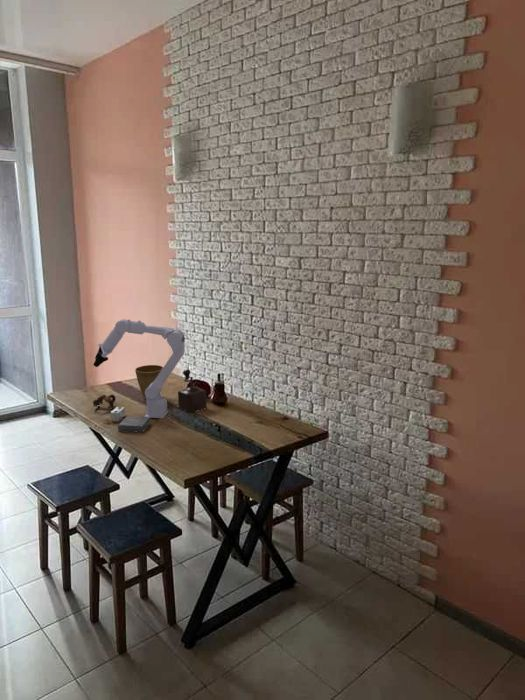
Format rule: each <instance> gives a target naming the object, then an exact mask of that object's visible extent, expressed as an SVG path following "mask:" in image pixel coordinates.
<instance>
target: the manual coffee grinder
mask: <svg viewBox="0 0 525 700" xmlns="http://www.w3.org/2000/svg"><path fill="white" fill-rule="evenodd" d="M182 374H183V376H184V379H183V382H184V383H186V382H187V383H190V386H188V387H187V388H184V389H181V390H178V391H177V398H178V409H179V410H181V409H182V410H181V411H184V410H185V411H184V412H187V411H188V412H187V413H190V412H191V414H192V412H193V413H196V412H195V411H197V410H200V411H202V410H201V409H203V410H205V409H204V408H206V409H208V406H207V405H208V404H207V390H206V389H203V388H201V387H199V386H198V384H196V386H195V385H194V383H193V382H194V378H193V376H190V375H191V370H190V369H184V370H183V371H182ZM197 412H198V411H197Z"/></svg>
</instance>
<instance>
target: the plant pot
mask: <svg viewBox="0 0 525 700" xmlns="http://www.w3.org/2000/svg"><path fill="white" fill-rule="evenodd" d="M163 367H164V366H163V365H160V364H159V365H158V364H147V365H141V366H138V367H136V368H135V369H134V370H135V371H134V372H135V375H136V379H137V383H138V387H139V388H140V392H141V395H142V396H143V398H144V397H145V398H144V399H146V396H145V390H146V389H147V388H148V387H149V385H150V384H151V383H152V382H154V381H155V379H156V378H157V376H158V375H159V373H160V372H161V370H162V369H163Z"/></svg>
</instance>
